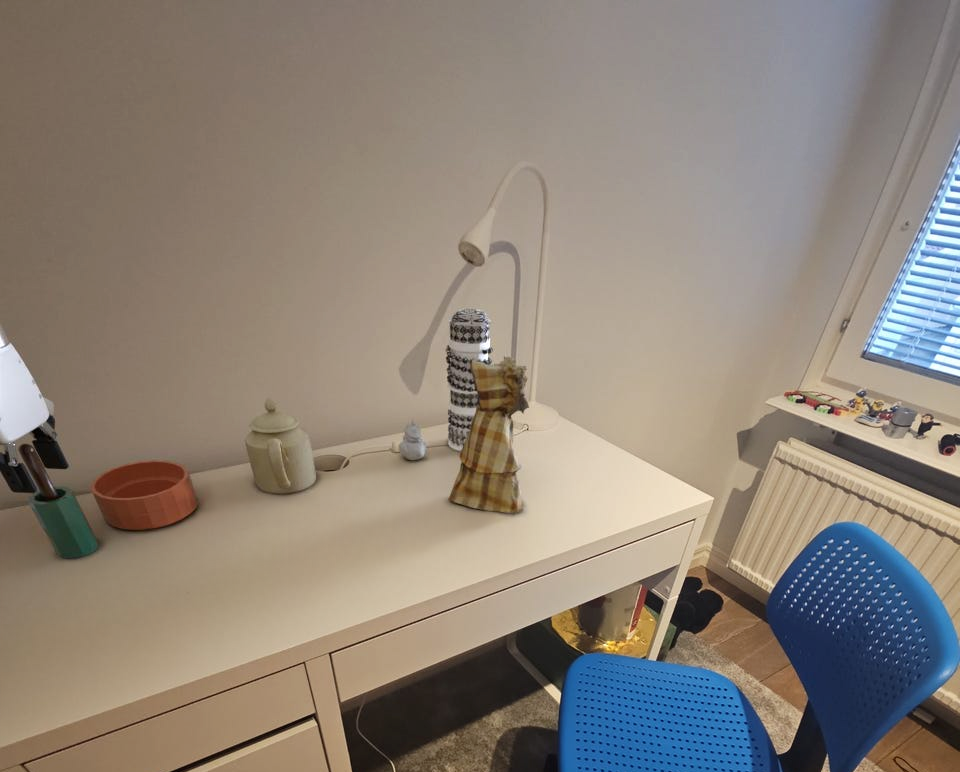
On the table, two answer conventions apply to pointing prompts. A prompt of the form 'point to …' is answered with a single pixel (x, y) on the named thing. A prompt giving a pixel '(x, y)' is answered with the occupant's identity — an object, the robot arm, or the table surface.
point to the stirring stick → (38, 472)
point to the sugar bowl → (280, 452)
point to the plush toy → (492, 440)
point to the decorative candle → (465, 370)
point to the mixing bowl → (144, 494)
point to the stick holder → (64, 523)
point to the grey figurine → (412, 443)
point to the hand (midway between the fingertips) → (41, 478)
